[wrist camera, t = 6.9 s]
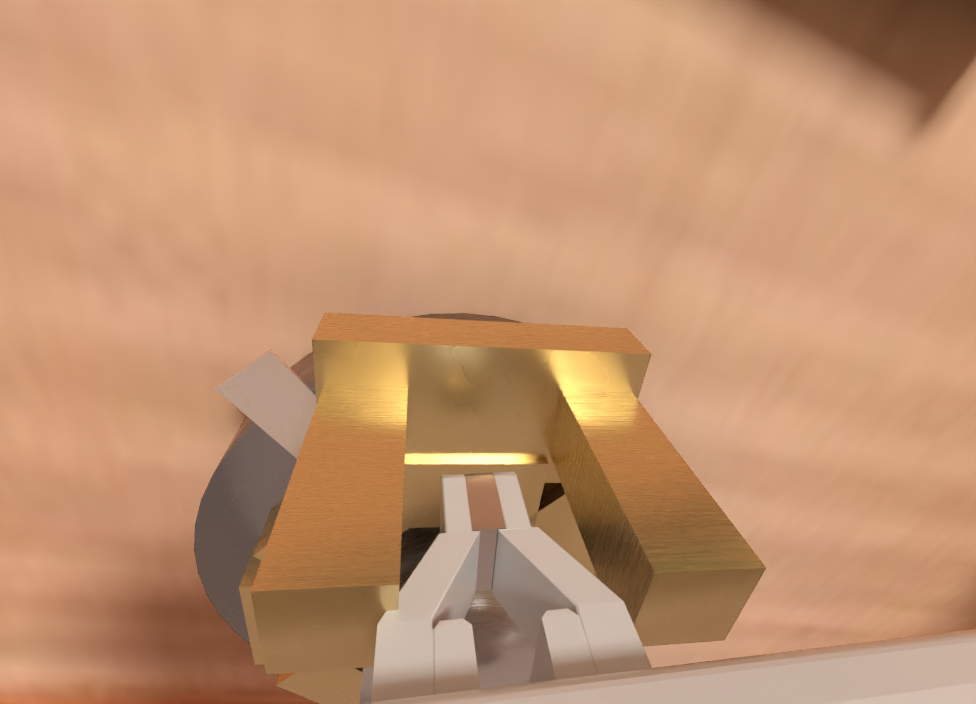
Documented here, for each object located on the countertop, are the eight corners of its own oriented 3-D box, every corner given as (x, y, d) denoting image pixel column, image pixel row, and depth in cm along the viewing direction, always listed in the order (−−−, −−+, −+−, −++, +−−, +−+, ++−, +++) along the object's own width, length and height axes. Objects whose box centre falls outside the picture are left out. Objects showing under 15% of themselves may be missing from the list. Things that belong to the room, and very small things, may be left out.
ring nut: (586, 660, 21) (654, 883, 15) (281, 684, 19) (214, 958, 13) (704, 332, 14) (938, 512, 7) (220, 307, 11) (-15, 535, 5)
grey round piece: (712, 352, 18) (879, 487, 12) (575, 628, 26) (628, 805, 19) (221, 271, 14) (50, 406, 8) (230, 626, 22) (149, 846, 15)
